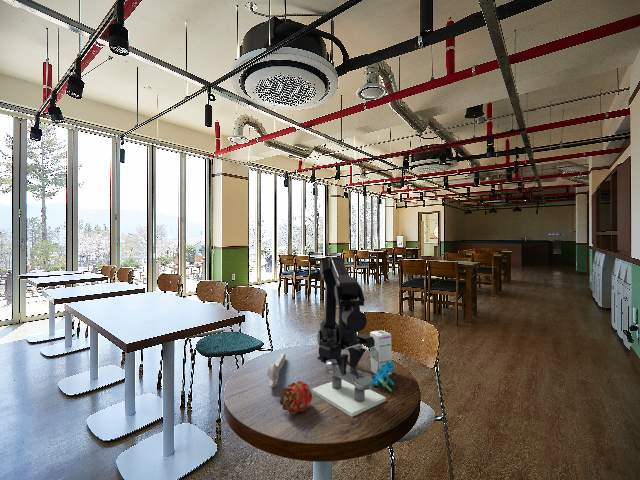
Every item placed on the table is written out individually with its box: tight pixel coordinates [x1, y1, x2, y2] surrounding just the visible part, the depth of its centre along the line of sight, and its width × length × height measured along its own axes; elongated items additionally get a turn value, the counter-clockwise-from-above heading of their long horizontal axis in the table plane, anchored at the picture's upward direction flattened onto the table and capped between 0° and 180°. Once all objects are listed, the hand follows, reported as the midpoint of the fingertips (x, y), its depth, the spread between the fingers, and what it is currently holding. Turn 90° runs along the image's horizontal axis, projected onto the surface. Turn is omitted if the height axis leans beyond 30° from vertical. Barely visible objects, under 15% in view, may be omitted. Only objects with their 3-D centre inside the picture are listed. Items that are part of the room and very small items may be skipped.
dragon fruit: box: [279, 380, 313, 416], centre depth 90 cm, size 8×8×12 cm
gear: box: [372, 361, 395, 392], centre depth 105 cm, size 11×6×10 cm
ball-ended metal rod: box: [325, 359, 373, 390], centre depth 98 cm, size 5×18×3 cm, turn 38°
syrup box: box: [369, 329, 393, 376], centre depth 115 cm, size 6×6×14 cm
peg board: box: [311, 375, 387, 418], centre depth 97 cm, size 14×18×4 cm
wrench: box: [266, 352, 286, 388], centre depth 113 cm, size 8×2×30 cm
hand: (347, 373), depth 98 cm, fingers closed on ball-ended metal rod, 3 cm apart
